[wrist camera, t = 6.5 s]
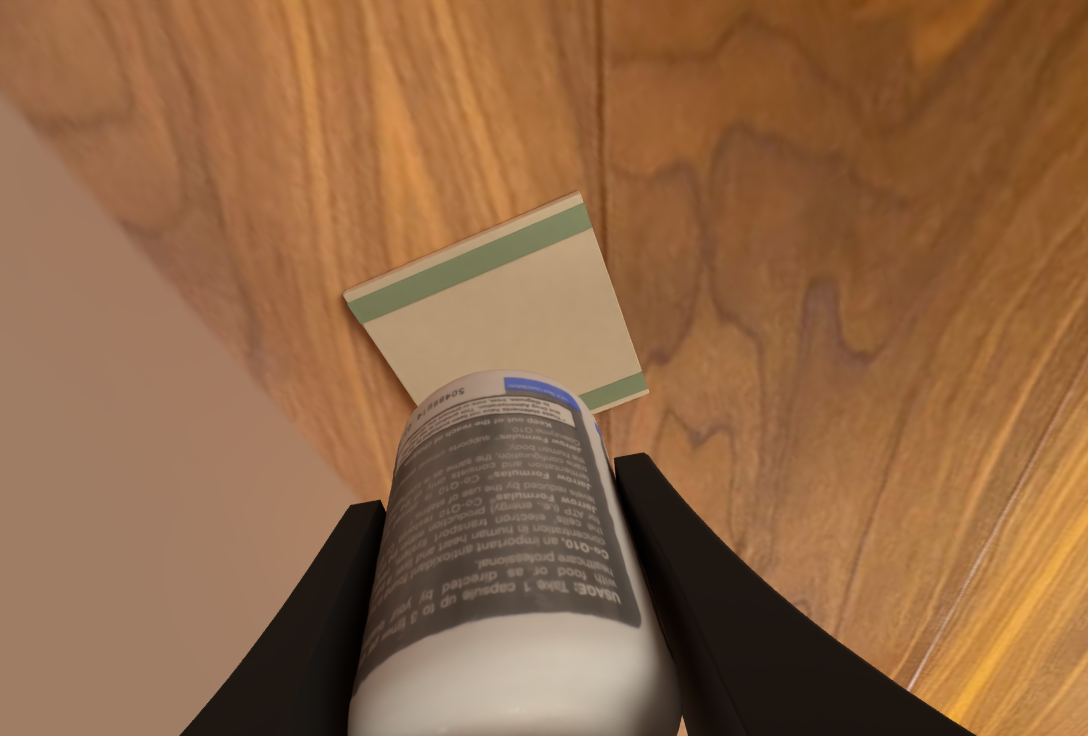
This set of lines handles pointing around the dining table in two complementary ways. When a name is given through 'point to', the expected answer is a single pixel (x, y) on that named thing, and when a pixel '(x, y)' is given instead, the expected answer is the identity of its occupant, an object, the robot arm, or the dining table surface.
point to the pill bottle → (510, 578)
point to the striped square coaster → (507, 310)
